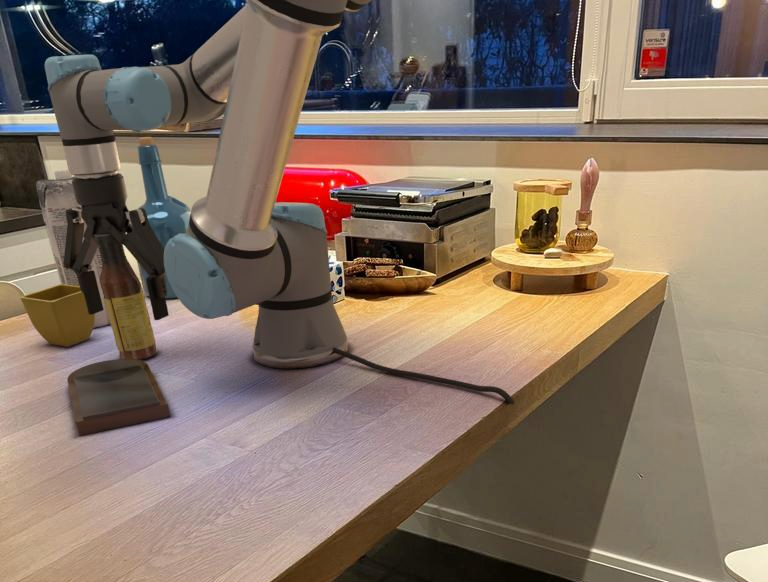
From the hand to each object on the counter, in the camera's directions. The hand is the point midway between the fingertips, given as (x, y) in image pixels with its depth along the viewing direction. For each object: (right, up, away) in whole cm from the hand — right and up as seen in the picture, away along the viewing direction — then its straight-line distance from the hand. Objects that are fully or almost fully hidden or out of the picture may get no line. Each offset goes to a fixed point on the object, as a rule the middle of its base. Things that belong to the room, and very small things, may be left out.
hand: (128, 315), depth 127 cm
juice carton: (-12, +4, +23) cm, 27 cm away
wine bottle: (-3, +15, +40) cm, 43 cm away
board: (+2, -15, -13) cm, 20 cm away
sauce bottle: (+1, -6, +4) cm, 7 cm away
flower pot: (-15, -2, +13) cm, 20 cm away
